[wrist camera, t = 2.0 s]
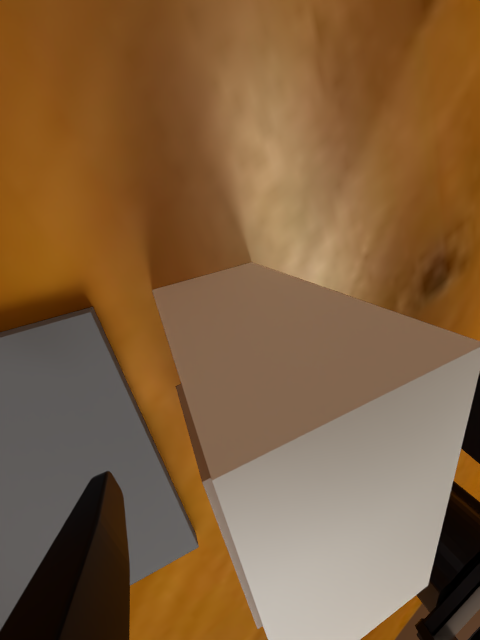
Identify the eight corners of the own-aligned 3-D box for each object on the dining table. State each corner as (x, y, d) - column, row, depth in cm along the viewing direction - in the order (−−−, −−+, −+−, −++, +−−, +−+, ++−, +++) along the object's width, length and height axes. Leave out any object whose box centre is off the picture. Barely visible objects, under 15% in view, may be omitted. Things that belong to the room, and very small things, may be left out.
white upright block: (251, 262, 11) (486, 343, 4) (274, 396, 13) (428, 585, 7) (147, 291, 9) (197, 488, 3) (196, 430, 12) (281, 701, 5)
